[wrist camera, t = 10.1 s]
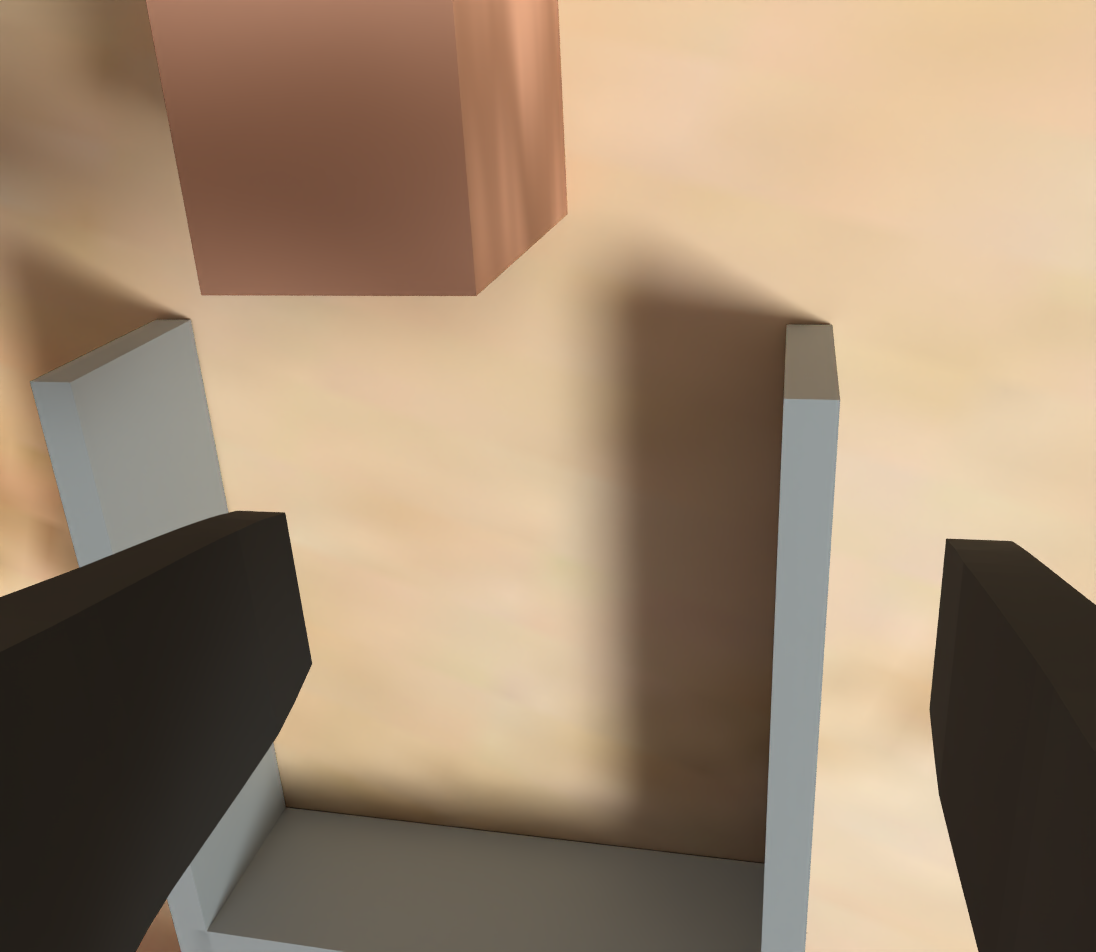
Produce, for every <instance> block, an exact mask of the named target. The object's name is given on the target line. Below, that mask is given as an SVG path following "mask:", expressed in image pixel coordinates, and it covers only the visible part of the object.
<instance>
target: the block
mask: <svg viewBox="0 0 1096 952" xmlns="http://www.w3.org/2000/svg"><path fill="white" fill-rule="evenodd" d="M146 4H147V10H148V15H149V20H150V25H151V31H152V36H153V41H154V47H155V52H156V57H157V63H158V68H159V73H160V78H161V84H162V89H163V94H164V100H165V105H166V110H167V115H168V121H169V126H170V131H171V137H172V142H173V147H174V153H175V158H176V163H177V168H178V174H179V179H180V184H181V190H182V195H183V200H184V205H185V211H186V216H187V221H188V227H189V232H190V237H191V243H192V248H193V253H194V258H195V264H196V269H197V274H198V280H199V285H200V290H201V295H333V296H477V295H478V294H479V293H480V292H481V291H482V290H484V289H485V288H486V287H487V286H488V285H489V284H490V283H491V282H492V281H494V280H495V279H496V278H497V277H498V276H499V275H500V274H501V273H502V272H504V271H505V270H506V269H507V268H508V267H509V266H510V265H511V264H512V263H514V262H515V261H516V260H517V259H518V258H519V257H520V256H521V255H522V254H524V253H525V252H526V251H527V250H528V249H529V248H530V247H531V246H532V245H534V244H535V243H536V242H537V241H538V240H539V239H540V238H541V237H542V236H544V235H545V234H546V233H547V232H548V231H549V230H550V229H551V228H553V227H554V226H555V225H556V224H557V223H558V222H559V221H560V220H561V219H563V218H564V217H565V216H566V215H567V193H566V170H565V148H564V125H563V103H562V80H561V58H560V35H559V12H558V0H146Z"/></svg>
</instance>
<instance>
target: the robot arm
mask: <svg viewBox="0 0 1096 952" xmlns="http://www.w3.org/2000/svg"><path fill="white" fill-rule="evenodd" d="M311 665H312V660H311V655H310V649H309V644H308V638H307V632H306V627H305V621H304V616H303V610H302V604H301V599H300V593H299V588H298V582H297V576H296V571H295V565H294V560H293V554H292V548H291V543H290V537H289V532H288V526H287V520H286V515H285V513H280V512H255V511H234V512H230V513H226V514H221V515H218V516H214V517H211V518H207V519H204V520H201V521H198V522H195V523H192V524H190V525H187V526H184V527H181V528H179V529H176V530H173V531H171V532H168V533H165V534H163V535H160V536H158V537H155V538H153V539H150V540H147V541H145V542H142V543H140V544H137V545H135V546H132V547H130V548H127V549H125V550H122V551H120V552H117V553H115V554H112V555H110V556H107V557H105V558H102V559H100V560H97V561H95V562H92V563H90V564H87V565H85V566H82V567H80V568H77V569H75V570H72V571H70V572H67V573H64V574H62V575H59V576H56V577H54V578H51V579H48V580H46V581H43V582H40V583H37V584H35V585H32V586H29V587H27V588H24V589H21V590H19V591H16V592H13V593H11V594H8V595H5V596H2V597H0V952H136V950H137V948H138V946H139V945H140V943H141V941H142V939H143V937H144V935H145V934H146V932H147V930H148V928H149V926H150V925H151V923H152V922H153V920H154V918H155V917H156V915H157V914H158V912H159V910H160V909H161V907H162V906H163V904H164V902H165V901H166V899H167V898H168V896H169V894H170V893H171V891H172V890H173V888H174V887H175V885H176V884H177V882H178V881H179V879H180V878H181V877H182V875H183V874H184V872H185V871H186V869H187V868H188V866H189V865H190V864H191V862H192V861H193V859H194V858H195V856H196V855H197V853H198V852H199V851H200V849H201V848H202V846H203V845H204V843H205V842H206V840H207V839H208V837H209V836H210V835H211V833H212V832H213V830H214V829H215V827H216V826H217V824H218V823H219V822H220V820H221V819H222V817H223V816H224V814H225V813H226V811H227V810H228V809H229V807H230V806H231V804H232V803H233V801H234V800H235V798H236V797H237V796H238V794H239V793H240V791H241V790H242V788H243V787H244V785H245V784H246V782H247V781H248V779H249V778H250V776H251V775H252V773H253V772H254V770H255V769H256V767H257V766H258V765H259V763H260V762H261V760H262V759H263V757H264V756H265V754H266V753H267V751H268V750H269V748H270V746H271V745H272V743H273V742H274V740H275V739H276V737H277V736H278V734H279V732H280V730H281V728H282V726H283V724H284V722H285V720H286V718H287V716H288V714H289V712H290V710H291V709H292V707H293V705H294V703H295V700H296V698H297V696H298V694H299V692H300V689H301V687H302V685H303V683H304V681H305V678H306V676H307V674H308V672H309V669H310V667H311ZM930 718H931V728H932V738H933V747H934V757H935V765H936V774H937V782H938V790H939V796H940V801H941V805H942V809H943V813H944V817H945V821H946V825H947V829H948V833H949V837H950V841H951V845H952V849H953V853H954V857H955V861H956V865H957V869H958V873H959V877H960V881H961V885H962V889H963V893H964V897H965V900H966V904H967V908H968V912H969V916H970V920H971V924H972V928H973V932H974V936H975V940H976V944H977V947H978V951H979V952H1096V605H1095V604H1094V603H1092V602H1091V601H1090V600H1089V599H1087V598H1086V597H1085V596H1083V595H1082V594H1081V593H1080V592H1078V591H1077V590H1076V589H1074V588H1073V587H1072V586H1071V585H1069V584H1068V583H1067V582H1066V581H1064V580H1063V579H1062V578H1061V577H1059V576H1058V575H1057V574H1055V573H1054V572H1053V571H1052V570H1050V569H1049V568H1048V567H1047V566H1045V565H1044V564H1043V563H1041V562H1040V561H1039V560H1038V559H1036V558H1035V557H1034V556H1032V555H1031V554H1030V553H1028V552H1027V551H1026V550H1024V549H1023V548H1022V547H1020V546H1019V545H1017V544H1015V543H1014V542H1012V541H992V540H967V539H946V547H945V557H944V567H943V577H942V588H941V598H940V608H939V618H938V628H937V639H936V649H935V659H934V669H933V679H932V690H931V700H930Z"/></svg>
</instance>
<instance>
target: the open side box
mask: <svg viewBox="0 0 1096 952" xmlns="http://www.w3.org/2000/svg"><path fill="white" fill-rule="evenodd" d="M30 384H31V388H32V391H33V395H34V399H35V403H36V406H37V410H38V414H39V418H40V421H41V425H42V429H43V433H44V437H45V440H46V444H47V448H48V452H49V455H50V459H51V463H52V467H53V470H54V474H55V478H56V482H57V486H58V489H59V493H60V497H61V501H62V504H63V508H64V512H65V516H66V520H67V523H68V527H69V531H70V535H71V538H72V542H73V546H74V550H75V553H76V557H77V561H78V565H79V568H80V567H82V566H85V565H87V564H90V563H92V562H95V561H97V560H100V559H102V558H105V557H107V556H110V555H112V554H115V553H117V552H120V551H122V550H125V549H127V548H130V547H132V546H135V545H137V544H140V543H142V542H145V541H147V540H150V539H153V538H155V537H158V536H160V535H163V534H165V533H168V532H171V531H173V530H176V529H179V528H181V527H184V526H187V525H190V524H192V523H195V522H198V521H201V520H204V519H207V518H211V517H214V516H218V515H221V514H226V513H228V508H227V503H226V498H225V493H224V488H223V483H222V478H221V472H220V467H219V462H218V457H217V452H216V447H215V442H214V437H213V431H212V426H211V421H210V416H209V411H208V406H207V401H206V396H205V390H204V385H203V380H202V375H201V370H200V365H199V360H198V355H197V349H196V344H195V339H194V334H193V329H192V324H191V320H154V321H152V322H150V323H148V324H146V325H144V326H142V327H140V328H138V329H136V330H134V331H132V332H130V333H128V334H126V335H124V336H122V337H120V338H118V339H116V340H113V341H111V342H109V343H107V344H105V345H103V346H101V347H99V348H97V349H95V350H93V351H91V352H89V353H87V354H85V355H83V356H81V357H79V358H77V359H75V360H73V361H71V362H69V363H67V364H65V365H63V366H61V367H59V368H57V369H55V370H52V371H50V372H48V373H46V374H44V375H42V376H40V377H38V378H36V379H34V380H32V381H30ZM839 409H840V395H839V385H838V375H837V366H836V356H835V347H834V337H833V327H832V325H798V324H787V328H786V352H785V377H784V401H783V426H782V450H781V475H780V499H779V524H778V548H777V573H776V598H775V622H774V647H773V671H772V696H771V720H770V745H769V769H768V794H767V818H766V843H765V864H762V863H753V862H745V861H736V860H728V859H719V858H711V857H702V856H694V855H685V854H677V853H668V852H660V851H651V850H643V849H634V848H626V847H617V846H609V845H600V844H592V843H583V842H575V841H566V840H558V839H549V838H541V837H532V836H524V835H515V834H507V833H499V832H490V831H482V830H473V829H465V828H456V827H448V826H439V825H431V824H422V823H414V822H405V821H397V820H388V819H380V818H371V817H363V816H354V815H346V814H337V813H329V812H320V811H312V810H303V809H295V808H286V806H285V800H284V795H283V790H282V785H281V780H280V775H279V770H278V765H277V759H276V754H275V749H274V744H273V743H272V745H271V746H270V748H269V750H268V751H267V753H266V754H265V756H264V757H263V759H262V760H261V762H260V763H259V765H258V766H257V767H256V769H255V770H254V772H253V773H252V775H251V776H250V778H249V779H248V781H247V782H246V784H245V785H244V787H243V788H242V790H241V791H240V793H239V794H238V796H237V797H236V798H235V800H234V801H233V803H232V804H231V806H230V807H229V809H228V810H227V811H226V813H225V814H224V816H223V817H222V819H221V820H220V822H219V823H218V824H217V826H216V827H215V829H214V830H213V832H212V833H211V835H210V836H209V837H208V839H207V840H206V842H205V843H204V845H203V846H202V848H201V849H200V851H199V852H198V853H197V855H196V856H195V858H194V859H193V861H192V862H191V864H190V865H189V866H188V868H187V869H186V871H185V872H184V874H183V875H182V877H181V878H180V879H179V881H178V882H177V884H176V885H175V887H174V888H173V890H172V891H171V893H170V894H169V896H168V898H167V900H168V904H169V908H170V912H171V915H172V919H173V923H174V927H175V930H176V934H177V938H178V942H179V946H180V949H181V952H805V942H806V926H807V910H808V895H809V879H810V863H811V848H812V832H813V816H814V801H815V785H816V769H817V754H818V738H819V722H820V707H821V691H822V675H823V660H824V644H825V628H826V613H827V597H828V581H829V566H830V550H831V534H832V519H833V503H834V487H835V472H836V456H837V440H838V425H839Z"/></svg>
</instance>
